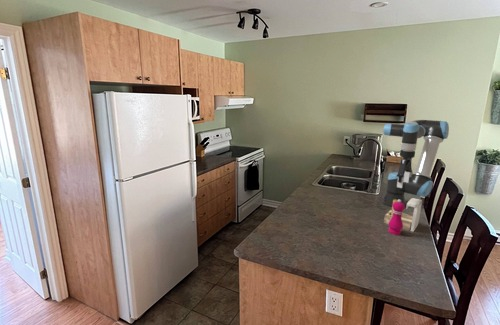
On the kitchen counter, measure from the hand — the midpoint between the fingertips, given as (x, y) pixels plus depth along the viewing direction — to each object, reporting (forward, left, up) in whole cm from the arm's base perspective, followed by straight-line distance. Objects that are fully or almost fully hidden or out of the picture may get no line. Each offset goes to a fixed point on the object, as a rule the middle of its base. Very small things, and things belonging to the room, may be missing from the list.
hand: (402, 184), depth 162 cm
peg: (+2, -1, -24) cm, 24 cm away
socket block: (+2, +2, -24) cm, 24 cm away
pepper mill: (+17, +3, -24) cm, 30 cm away
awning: (+2, +8, -24) cm, 25 cm away
